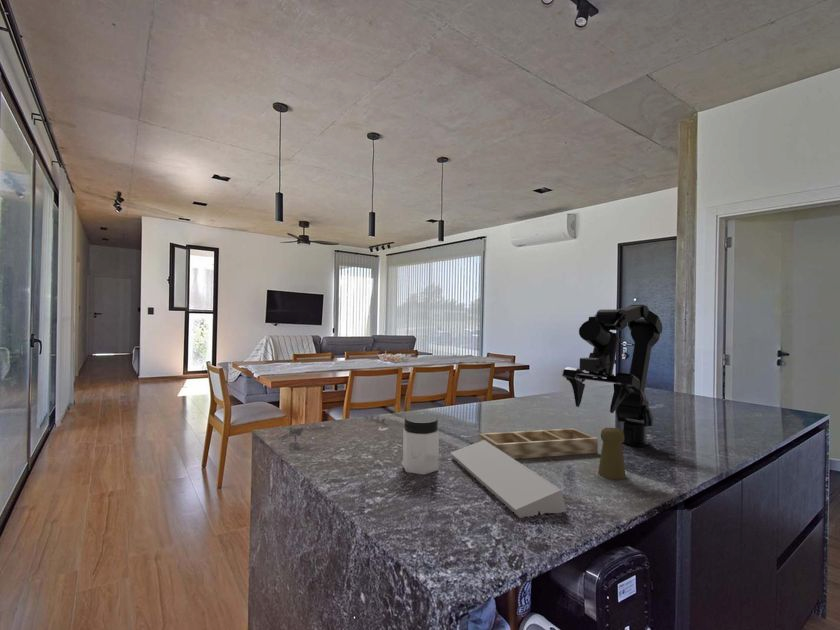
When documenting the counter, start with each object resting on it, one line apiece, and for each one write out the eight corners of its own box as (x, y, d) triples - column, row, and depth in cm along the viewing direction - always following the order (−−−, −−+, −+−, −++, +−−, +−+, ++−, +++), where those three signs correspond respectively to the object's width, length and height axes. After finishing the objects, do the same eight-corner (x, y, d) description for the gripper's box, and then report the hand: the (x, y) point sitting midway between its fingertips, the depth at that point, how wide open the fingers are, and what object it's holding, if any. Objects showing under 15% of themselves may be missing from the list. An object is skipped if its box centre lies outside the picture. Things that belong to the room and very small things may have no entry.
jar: (396, 471, 100) (397, 420, 100) (408, 460, 108) (409, 413, 108) (433, 476, 97) (434, 424, 97) (442, 465, 105) (443, 416, 105)
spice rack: (573, 441, 128) (573, 428, 128) (597, 452, 118) (597, 438, 118) (478, 447, 120) (479, 433, 120) (496, 460, 109) (496, 444, 109)
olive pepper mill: (593, 470, 104) (594, 425, 104) (616, 470, 104) (617, 425, 104) (606, 479, 98) (607, 431, 98) (631, 479, 98) (631, 431, 98)
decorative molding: (521, 534, 78) (566, 513, 80) (515, 509, 77) (561, 489, 80) (454, 470, 110) (488, 456, 113) (450, 452, 110) (484, 439, 113)
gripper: (558, 341, 116) (546, 396, 113) (628, 345, 102) (617, 408, 99) (577, 354, 123) (566, 406, 120) (645, 359, 109) (635, 419, 106)
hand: (593, 409), depth 111 cm, fingers open, 9 cm apart
